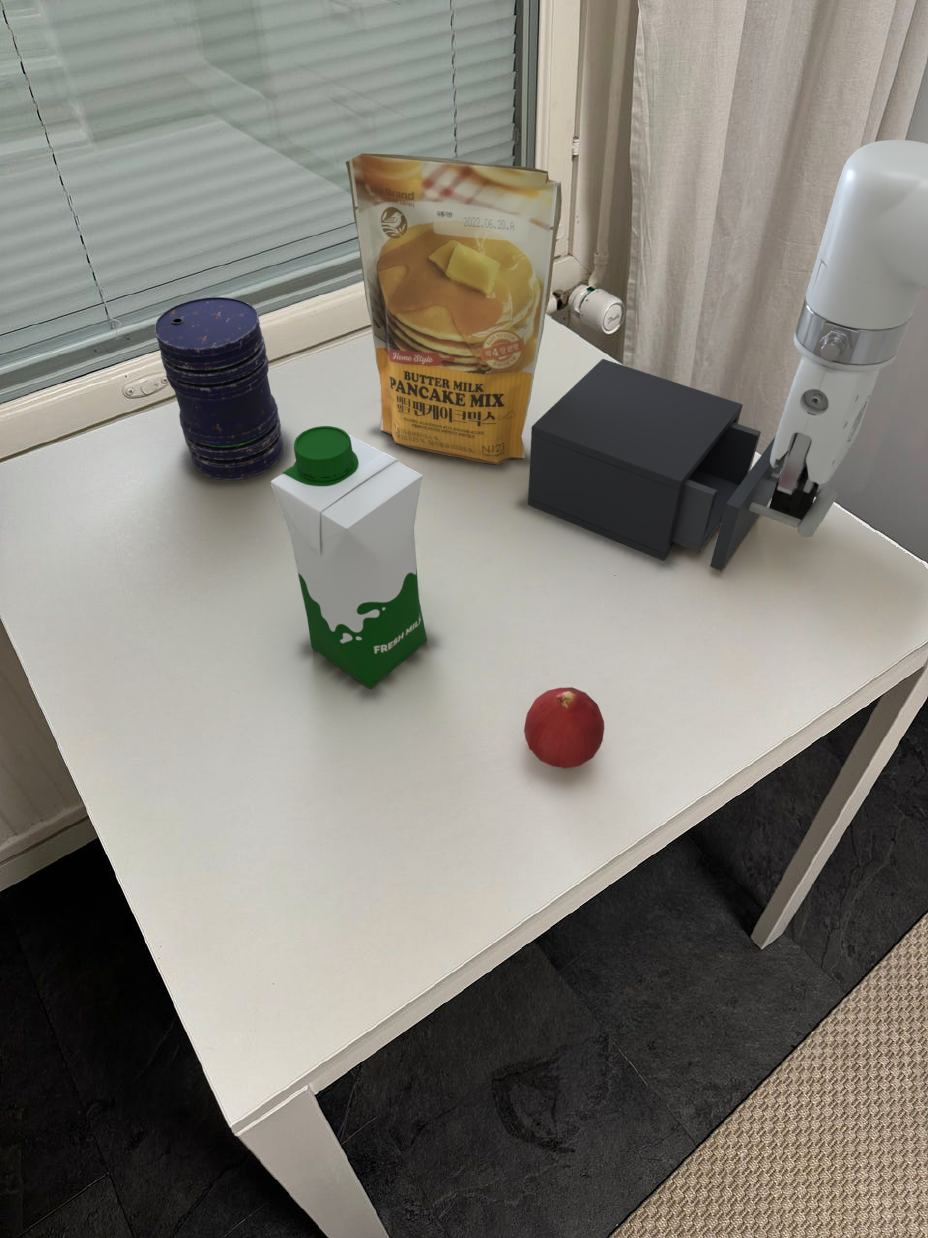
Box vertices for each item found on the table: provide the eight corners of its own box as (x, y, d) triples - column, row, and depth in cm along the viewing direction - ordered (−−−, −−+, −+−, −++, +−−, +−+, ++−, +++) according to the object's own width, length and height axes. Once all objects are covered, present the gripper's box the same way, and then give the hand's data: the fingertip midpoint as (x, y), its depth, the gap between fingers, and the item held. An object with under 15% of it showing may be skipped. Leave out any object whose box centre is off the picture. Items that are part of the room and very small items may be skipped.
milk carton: (368, 592, 80) (344, 402, 66) (443, 641, 76) (435, 449, 61) (295, 648, 76) (251, 458, 61) (371, 703, 72) (343, 513, 57)
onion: (544, 714, 71) (550, 648, 65) (611, 745, 69) (623, 679, 63) (509, 768, 67) (512, 703, 62) (578, 801, 65) (588, 738, 59)
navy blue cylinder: (294, 426, 98) (271, 298, 87) (272, 483, 91) (244, 351, 80) (206, 422, 98) (172, 294, 87) (177, 477, 92) (137, 346, 81)
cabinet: (722, 482, 90) (742, 404, 83) (664, 561, 83) (680, 481, 76) (593, 435, 96) (602, 358, 89) (527, 504, 88) (531, 426, 81)
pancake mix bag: (384, 406, 100) (360, 138, 80) (547, 438, 96) (567, 163, 75) (360, 440, 96) (328, 166, 75) (530, 475, 91) (545, 194, 71)
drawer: (832, 518, 85) (857, 455, 79) (785, 597, 78) (809, 534, 72) (646, 450, 92) (657, 388, 87) (588, 517, 85) (595, 454, 80)
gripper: (870, 389, 61) (798, 580, 74) (928, 299, 69) (854, 485, 83) (765, 357, 64) (714, 546, 77) (833, 274, 72) (777, 458, 86)
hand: (787, 514), depth 80 cm, fingers closed
